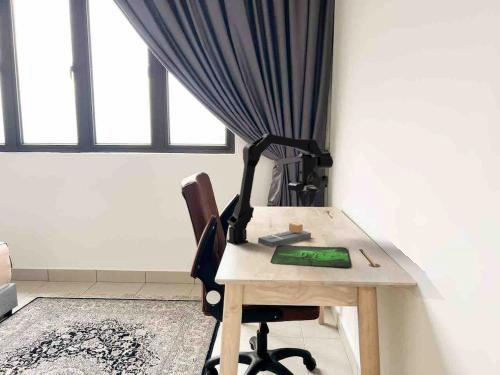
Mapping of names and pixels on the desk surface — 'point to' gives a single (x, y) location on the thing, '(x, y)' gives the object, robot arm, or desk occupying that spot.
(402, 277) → the desk surface
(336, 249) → the mouse mat
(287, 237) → the grey flat panel
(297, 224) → the fader
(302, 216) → the desk surface
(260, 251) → the desk surface
